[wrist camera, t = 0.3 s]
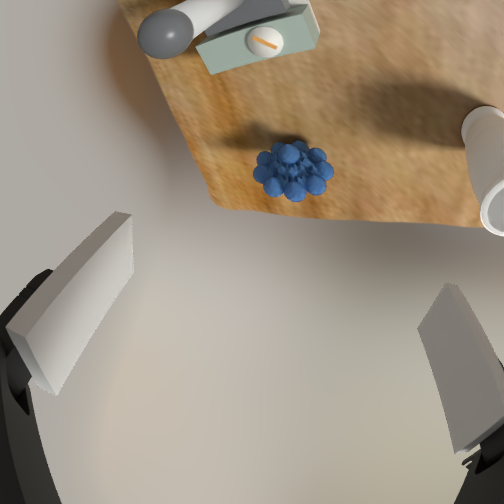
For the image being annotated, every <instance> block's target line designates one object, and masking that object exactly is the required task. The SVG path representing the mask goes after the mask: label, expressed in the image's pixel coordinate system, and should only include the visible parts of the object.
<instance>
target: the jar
mask: <svg viewBox="0 0 504 504" xmlns="http://www.w3.org/2000/svg"><path fill="white" fill-rule="evenodd" d="M461 134H462V139H463V142H464V143H465V152H466V158H467V165H468V172H469V177H470V181H471V184H472V187H473V190H474V193H475V195H476V197H477V200H478V202H479V204H480V208H479V210H480V216H481V221H482V223H483V225H484V226H485V228H486V229H487V230H489V231H490V232H492V233H494V234H496V235H500V236H504V113H503V112H502V111H500V110H499V109H497V108H495V107H491V106H482V107H478V108H476V109H474V110H473V111H471V112H470V113H469V114H468V115H467V116H466V118H465V120H464V122H463V124H462V129H461Z"/></svg>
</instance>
